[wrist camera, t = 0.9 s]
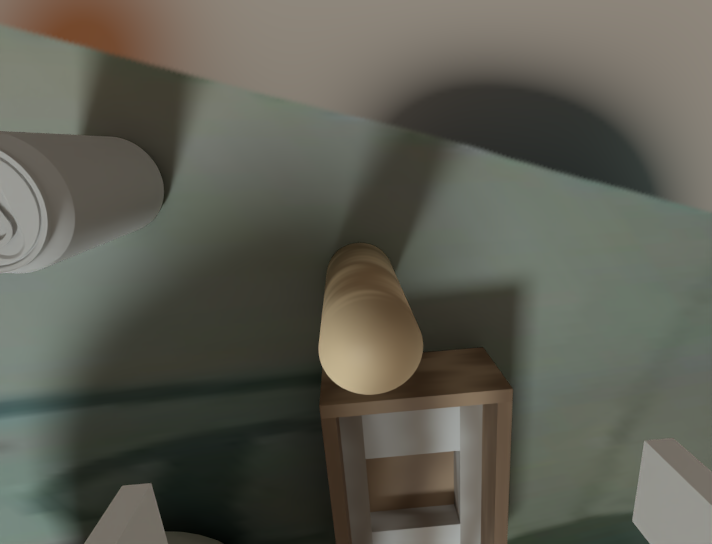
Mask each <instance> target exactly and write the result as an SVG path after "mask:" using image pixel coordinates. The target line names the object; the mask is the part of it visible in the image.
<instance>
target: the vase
mask: <svg viewBox="0 0 712 544" xmlns="http://www.w3.org/2000/svg"><path fill="white" fill-rule="evenodd" d="M165 534H166V538H167V542H168V544H223V543H221V542H219V541H218V540H215V539H211V538H208V537H205V536H202V535H198V534H192V533H186V532H168V531H165Z"/></svg>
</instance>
